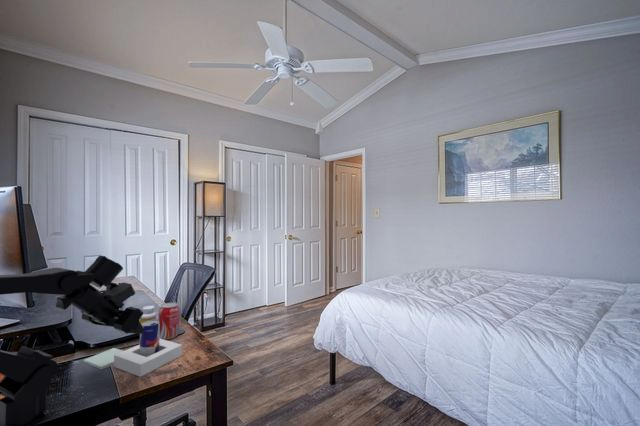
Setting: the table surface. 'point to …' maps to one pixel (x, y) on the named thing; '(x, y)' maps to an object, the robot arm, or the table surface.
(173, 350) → the well board
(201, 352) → the table surface
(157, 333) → the energy drink
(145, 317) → the supplement bottle
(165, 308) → the soda can
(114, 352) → the pad
